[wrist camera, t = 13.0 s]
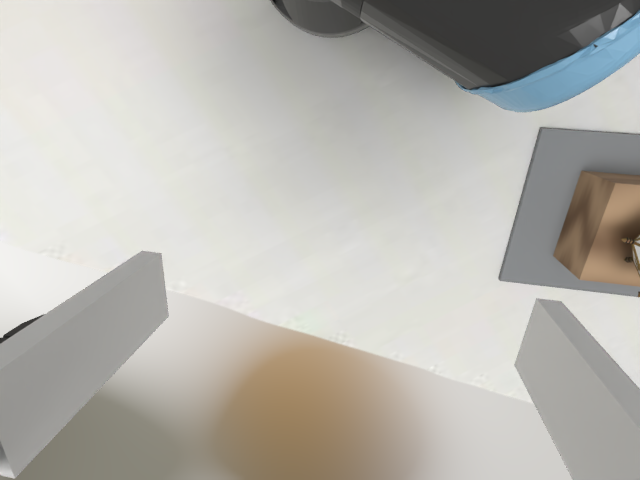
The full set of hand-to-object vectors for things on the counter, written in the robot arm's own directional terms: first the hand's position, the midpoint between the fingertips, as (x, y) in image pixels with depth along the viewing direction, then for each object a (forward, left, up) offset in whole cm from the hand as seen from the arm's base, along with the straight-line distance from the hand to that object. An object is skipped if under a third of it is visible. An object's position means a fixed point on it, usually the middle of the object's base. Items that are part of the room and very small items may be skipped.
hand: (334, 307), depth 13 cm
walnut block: (+4, +28, -31) cm, 42 cm away
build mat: (+4, +27, -32) cm, 42 cm away
